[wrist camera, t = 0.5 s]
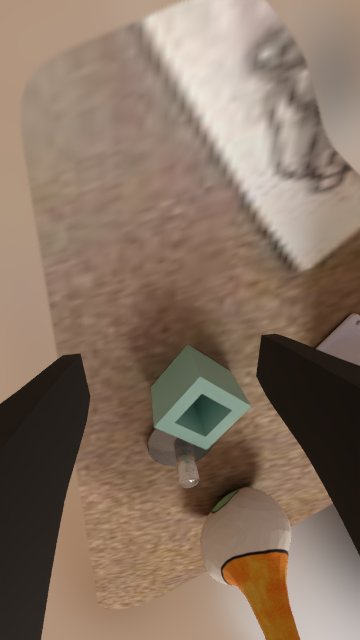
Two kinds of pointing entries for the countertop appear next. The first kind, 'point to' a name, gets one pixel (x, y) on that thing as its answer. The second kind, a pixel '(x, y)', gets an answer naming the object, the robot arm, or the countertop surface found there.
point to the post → (176, 455)
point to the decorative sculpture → (252, 556)
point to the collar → (196, 399)
